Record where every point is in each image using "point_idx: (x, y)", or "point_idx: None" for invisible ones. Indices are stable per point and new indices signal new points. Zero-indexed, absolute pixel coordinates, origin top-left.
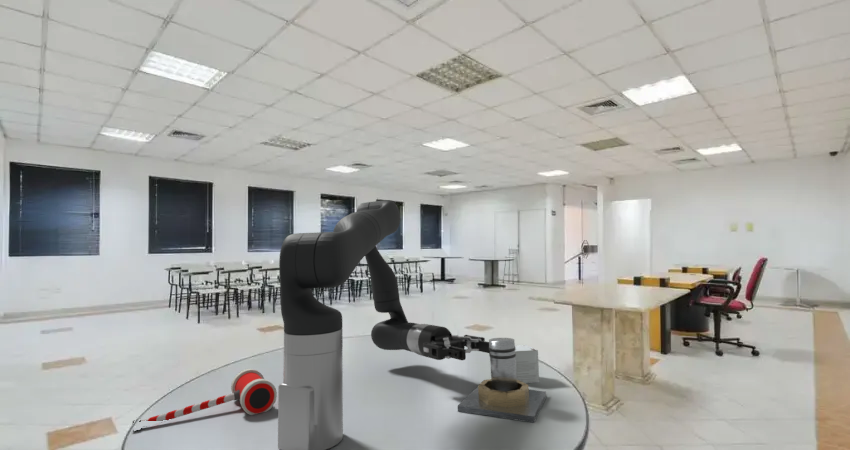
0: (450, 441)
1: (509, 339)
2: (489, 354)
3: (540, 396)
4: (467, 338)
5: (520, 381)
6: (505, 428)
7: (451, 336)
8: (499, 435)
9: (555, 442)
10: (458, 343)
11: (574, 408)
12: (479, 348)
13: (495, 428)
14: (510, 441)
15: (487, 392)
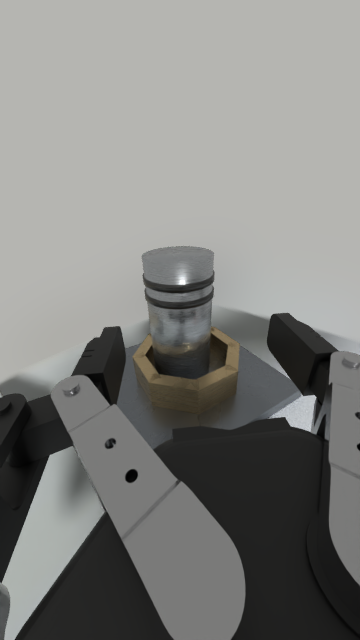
0: (338, 337)
1: (158, 252)
2: (209, 296)
3: (130, 350)
4: (123, 418)
5: (139, 348)
6: (249, 332)
7: (243, 576)
8: (266, 326)
9: (221, 306)
10: (223, 436)
11: (124, 330)
12: (112, 400)
13: (261, 336)
14: (261, 317)
15: (239, 346)
